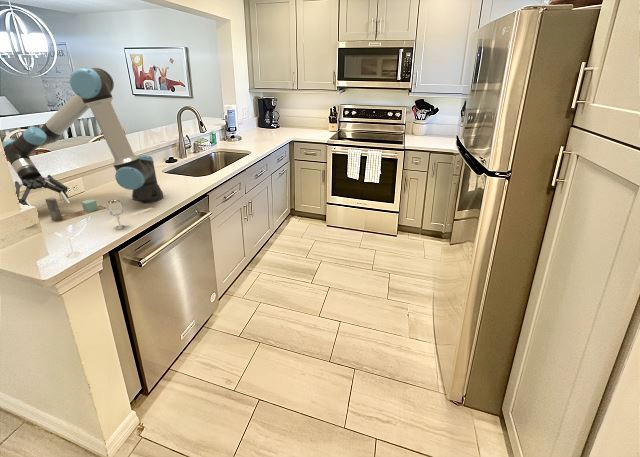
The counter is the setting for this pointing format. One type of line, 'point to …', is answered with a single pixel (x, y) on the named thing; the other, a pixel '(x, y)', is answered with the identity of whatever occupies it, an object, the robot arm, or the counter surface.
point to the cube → (89, 205)
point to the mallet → (57, 216)
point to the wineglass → (116, 210)
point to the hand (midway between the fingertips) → (51, 208)
